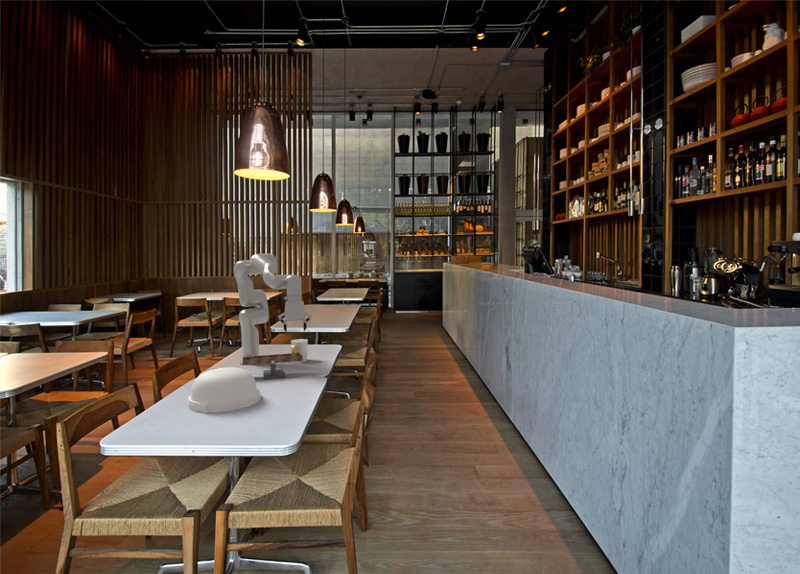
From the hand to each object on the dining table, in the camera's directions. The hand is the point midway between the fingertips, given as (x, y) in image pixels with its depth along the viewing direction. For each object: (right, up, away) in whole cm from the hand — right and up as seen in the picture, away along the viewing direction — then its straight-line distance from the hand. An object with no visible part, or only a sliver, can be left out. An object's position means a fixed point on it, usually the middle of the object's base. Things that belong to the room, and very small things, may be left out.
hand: (295, 330), depth 256 cm
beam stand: (-11, -23, -2) cm, 26 cm away
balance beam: (-11, -15, -2) cm, 19 cm away
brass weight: (0, -14, +1) cm, 14 cm away
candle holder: (-4, -21, +31) cm, 38 cm away
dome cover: (-21, -27, -46) cm, 57 cm away
